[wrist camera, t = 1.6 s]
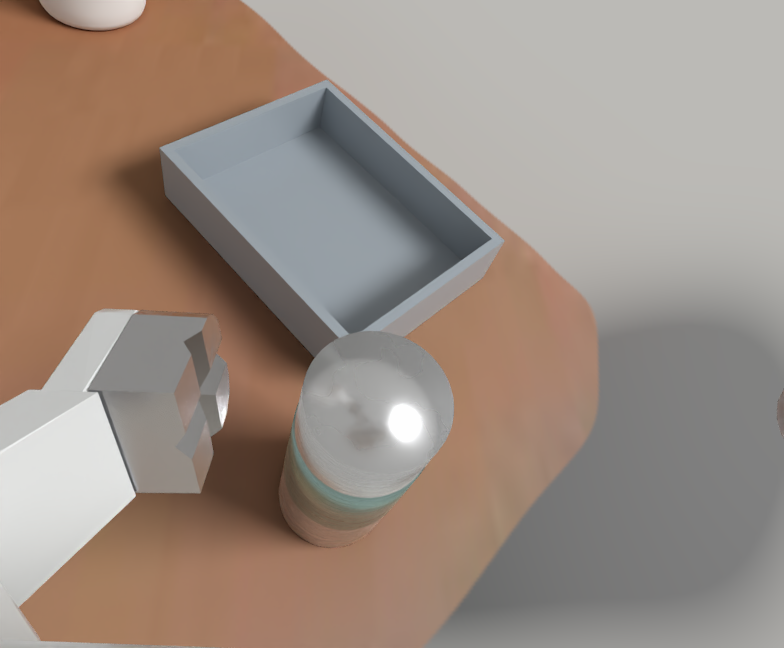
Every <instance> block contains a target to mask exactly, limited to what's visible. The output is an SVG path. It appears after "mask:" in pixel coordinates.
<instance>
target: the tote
mask: <svg viewBox="0 0 784 648" xmlns="http://www.w3.org/2000/svg"><path fill="white" fill-rule="evenodd" d="M160 156H161V165H162V173H163V181H164V189H165V196H166V197H167V198H168V199H169V200H170V201H171V202H172V203H173V204H174V205H175V206H176V208H177V209H178V210H179V211H180V212H181V213H182V214H183V215H184V216H185V217H186V218H187V220H188V221H189V222H190V223H191V224H192V225H193V226H194V227H195V228H196V229H197V230H198V231H199V233H200V234H201V235H202V236H203V237H204V238H205V239H206V240H207V241H208V242H209V243H210V245H211V246H212V247H213V248H214V249H215V250H216V251H217V252H218V253H219V254H220V255H221V257H222V258H223V259H224V260H225V261H226V262H227V263H228V264H229V265H230V266H231V267H232V268H233V270H234V271H235V272H236V273H237V274H238V275H239V276H240V277H241V278H242V279H243V280H244V282H245V283H246V284H247V285H248V286H249V287H250V288H251V289H252V290H253V291H254V292H255V293H256V295H257V296H258V297H259V298H260V299H261V300H262V301H263V302H264V303H265V304H266V305H267V307H268V308H269V309H270V310H271V311H272V312H273V313H274V314H275V315H276V316H277V317H278V319H279V320H280V321H281V322H282V323H283V324H284V325H285V326H286V327H287V328H288V329H289V330H290V332H291V333H292V334H293V335H294V336H295V337H296V338H297V339H298V340H299V341H300V342H301V344H302V345H303V346H304V347H305V348H306V349H307V350H308V351H309V352H310V353H311V354H312V356H313V357H314V358H315V357H316V355H317V354H318V353H319V352H320V351H321V350H322V349H323V348H324V347H326V346H327V345H328V344H329V343H331V342H333V341H334V340H336V339H338V338H340V337H343V336H345V335H348V334H351V333H355V332H361V331H382V332H387V333H392V334H395V335H399V336H401V337H405V336H406V335H407V334H409V333H410V332H411V331H413V330H414V329H415V328H417V327H418V326H419V325H421V324H422V323H423V322H425V321H426V320H427V319H429V318H430V317H431V316H433V315H434V314H435V313H437V312H438V311H439V310H441V309H442V308H443V307H445V306H446V305H447V304H449V303H450V302H451V301H453V300H454V299H455V298H457V297H458V296H459V295H461V294H462V293H463V292H465V291H466V290H467V289H469V288H470V287H471V286H473V285H474V284H475V283H477V282H478V281H479V280H481V279H482V278H483V276H484V275H485V273H486V271H487V270H488V268H489V266H490V265H491V263H492V261H493V259H494V258H495V256H496V254H497V253H498V251H499V249H500V248H501V246H502V244H503V243H504V240H503V239H502V238H501V237H500V236H499V235H498V234H497V233H496V232H494V231H493V230H492V229H491V228H490V227H489V226H488V225H487V224H486V223H485V222H483V221H482V220H481V219H480V218H479V217H478V216H477V215H476V214H475V213H474V212H472V211H471V210H470V209H469V208H468V207H467V206H466V205H465V204H464V203H463V202H461V201H460V200H459V199H458V198H457V197H456V196H455V195H454V194H453V193H451V192H450V191H449V190H448V189H447V188H446V187H445V186H444V185H443V184H442V183H440V182H439V181H438V180H437V179H436V178H435V177H434V176H433V175H432V174H431V173H429V172H428V171H427V170H426V169H425V168H424V167H423V166H422V165H421V164H420V163H418V162H417V161H416V160H415V159H414V158H413V157H412V156H411V155H410V154H408V153H407V152H406V151H405V150H404V149H403V148H402V147H401V146H400V145H399V144H397V143H396V142H395V141H394V140H393V139H392V138H391V137H390V136H389V135H388V134H386V133H385V132H384V131H383V130H382V129H381V128H380V127H379V126H378V125H377V124H375V123H374V122H373V121H372V120H371V119H370V118H369V117H368V116H367V115H365V114H364V113H363V112H362V111H361V110H360V109H359V108H358V107H357V106H356V105H354V104H353V103H352V102H351V101H350V100H349V99H348V98H347V97H346V96H345V95H343V94H342V93H341V92H340V91H339V90H338V89H337V88H336V87H335V86H334V85H332V84H331V83H330V82H329V81H328V80H325V81H322V82H320V83H318V84H315V85H313V86H310V87H308V88H305V89H303V90H300V91H298V92H295V93H293V94H290V95H288V96H286V97H283V98H281V99H278V100H276V101H273V102H271V103H268V104H266V105H263V106H261V107H258V108H256V109H254V110H251V111H249V112H246V113H244V114H241V115H239V116H236V117H234V118H231V119H229V120H226V121H224V122H221V123H219V124H217V125H214V126H212V127H209V128H207V129H204V130H202V131H199V132H197V133H194V134H192V135H189V136H187V137H185V138H182V139H180V140H177V141H175V142H172V143H170V144H167V145H165V146H162V147H160Z"/></svg>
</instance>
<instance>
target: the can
mask: <svg viewBox="0 0 784 648" xmlns="http://www.w3.org/2000/svg"><path fill="white" fill-rule="evenodd" d="M453 416H454V401H453V395H452V391H451V387H450V384H449V382H448V379H447V377H446V375H445V374H444V372H443V370H442V369H441V367H440V366H439V364H438V363H437V362H436V361H435V360H434V358H433V357H432V356H431V355H430V354H429V353H427V352H426V351H425V350H424V349H423V348H421V347H420V346H419V345H417V344H415V343H414V342H412V341H410V340H408V339H406V338H404V337H401V336H399V335H395V334H392V333H387V332H382V331H361V332H355V333H351V334H348V335H345V336H343V337H340V338H338V339H336V340H334V341H333V342H331V343H329V344H328V345H327V346H326V347H324V348H323V349H322V350H321V351H320V352H319V353H318V354H317V355H316V357H315V358H314V360H313V361H312V363H311V364H310V366H309V368H308V370H307V373H306V376H305V379H304V383H303V387H302V391H301V395H300V400H299V403H298V405H297V408H296V412H295V415H294V420H293V424H292V428H291V433H290V437H289V441H288V445H287V450H286V454H285V459H284V467H283V471H282V476H281V480H280V485H279V503H280V508H281V511H282V514H283V516H284V518H285V520H286V522H287V523H288V525H289V526H290V528H291V529H292V530H293V531H294V532H295V533H296V534H297V535H298V536H300V537H301V538H302V539H304V540H305V541H307V542H309V543H311V544H314V545H317V546H320V547H326V548H339V547H344V546H348V545H351V544H353V543H356V542H358V541H359V540H361V539H362V538H364V537H365V536H366V535H367V534H369V533H370V531H371V530H372V529H373V528H374V527H375V526H376V525H377V523H378V522H379V521H380V520H381V519H382V517H383V516H385V515H386V514H387V513H388V512H389V511H390V509H391V508H392V507H393V506H394V505H395V504H396V502H397V501H398V500H399V499H400V498H401V496H402V495H403V494H404V493H405V492H406V491H407V489H408V488H409V487H410V486H411V485H412V483H413V482H414V481H415V480H416V479H417V477H418V476H419V475H420V474H421V472H422V471H423V469H424V468H425V466H426V465H427V464H428V462H429V461H430V460H431V459H432V458H433V456H434V455H435V454H436V453H437V452H438V450H439V449H440V448H441V446H442V445H443V444H444V442H445V441H446V439H447V437H448V435H449V432H450V429H451V426H452V422H453Z"/></svg>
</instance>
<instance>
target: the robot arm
mask: <svg viewBox="0 0 784 648" xmlns="http://www.w3.org/2000/svg"><path fill="white" fill-rule="evenodd" d="M221 340H222V336H221V331H220V327H219V322H218V319H217V318H216V317H215V316H214V315H213V314H202V313H184V312H167V311H149V310H140V311H138V310H125V309H102V310H100V311H97V312H95V313H94V314H93V316H92V317H91V319H90V320H89V321H88V323H87V324H86V326H85V327H84V329H83V330H82V332H81V333H80V334H79V336H78V337H77V339H76V340H75V342H74V343H73V345H72V346H71V347H70V349H69V350H68V352H67V353H66V355H65V356H64V357H63V359H62V360H61V362H60V363H59V365H58V366H57V368H56V369H55V370H54V372H53V373H52V375H51V376H50V378H49V379H48V381H47V382H46V383H45V385H44V386H43V388H42V389H41V390H27V391H26V392H24V393H22V394H20V395H18V396H17V397H15V398H13V399H11V400H9V401H8V402H6V403H4V404H2V405H0V648H218V647H189V646H161V645H133V644H104V643H76V642H48V641H40V638H39V636H38V635H37V633H36V632H35V630H34V629H33V627H32V626H31V625H30V623H29V622H28V620H27V619H26V617H25V616H24V614H23V613H22V612H21V610H20V609H19V606H20V605H21V604H22V603H23V602H25V601H26V600H27V599H28V598H29V597H30V596H31V595H32V594H33V593H34V592H35V591H36V590H37V589H38V588H39V587H40V586H41V585H43V584H44V583H45V582H46V581H47V580H48V579H49V578H50V577H51V576H52V575H53V574H54V573H55V572H56V571H57V570H58V569H59V568H61V567H62V566H63V565H64V564H65V563H66V562H67V561H68V560H69V559H70V558H71V557H72V556H73V555H74V554H75V553H76V552H77V551H79V550H80V549H81V548H82V547H83V546H84V545H85V544H86V543H87V542H88V541H89V540H90V539H91V538H92V537H93V536H94V535H95V534H97V533H98V532H99V531H100V530H101V529H102V528H103V527H104V526H105V525H106V524H107V523H108V522H109V521H110V520H111V519H112V518H113V517H115V516H116V515H117V514H118V513H119V512H120V511H121V510H122V509H123V508H124V507H125V506H126V505H127V504H128V503H129V502H130V501H131V500H133V499H134V498H135V497H136V494H135V493H201V490H202V487H203V484H204V481H205V478H206V475H207V472H208V469H209V466H210V463H211V460H212V457H213V454H214V452H213V447H212V443H211V438H210V437H211V436H213V435H214V434H215V433H217V432H218V431H219V430H220V429H222V427H223V423H224V420H225V417H226V413H227V407H228V400H229V374H228V368H227V363H226V362H225V361H224V360H223V359H222V358H221V357H220V356H219V355H218V354H216V353H217V351H218V348H219V345H220V343H221ZM777 421H778V425H779V428H780V432H781V434H782V436H783V438H784V390H783V392H782V394H781V396H780V398H779V400H778V408H777Z"/></svg>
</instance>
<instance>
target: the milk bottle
mask: <svg viewBox="0 0 784 648" xmlns="http://www.w3.org/2000/svg"><path fill="white" fill-rule="evenodd" d="M39 1H40V3H41V5H42V6H43V7H44V9H45V10H46V11H47V12H48V13H49V14H50V15H51V16H52V17H54V18H55V19H56V20H58V21H60V22H62V23H64V24H67V25H70V26H72V27H76V28H80V29H85V30H95V31H96V30H112V29H117V28H121V27H125V26H127V25H129V24H131V23H133V22H134V21H136V20H137V19H138V18H139V17H140V16H141V15H142V12H143V10H144V8H145V5H146V0H39Z"/></svg>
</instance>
